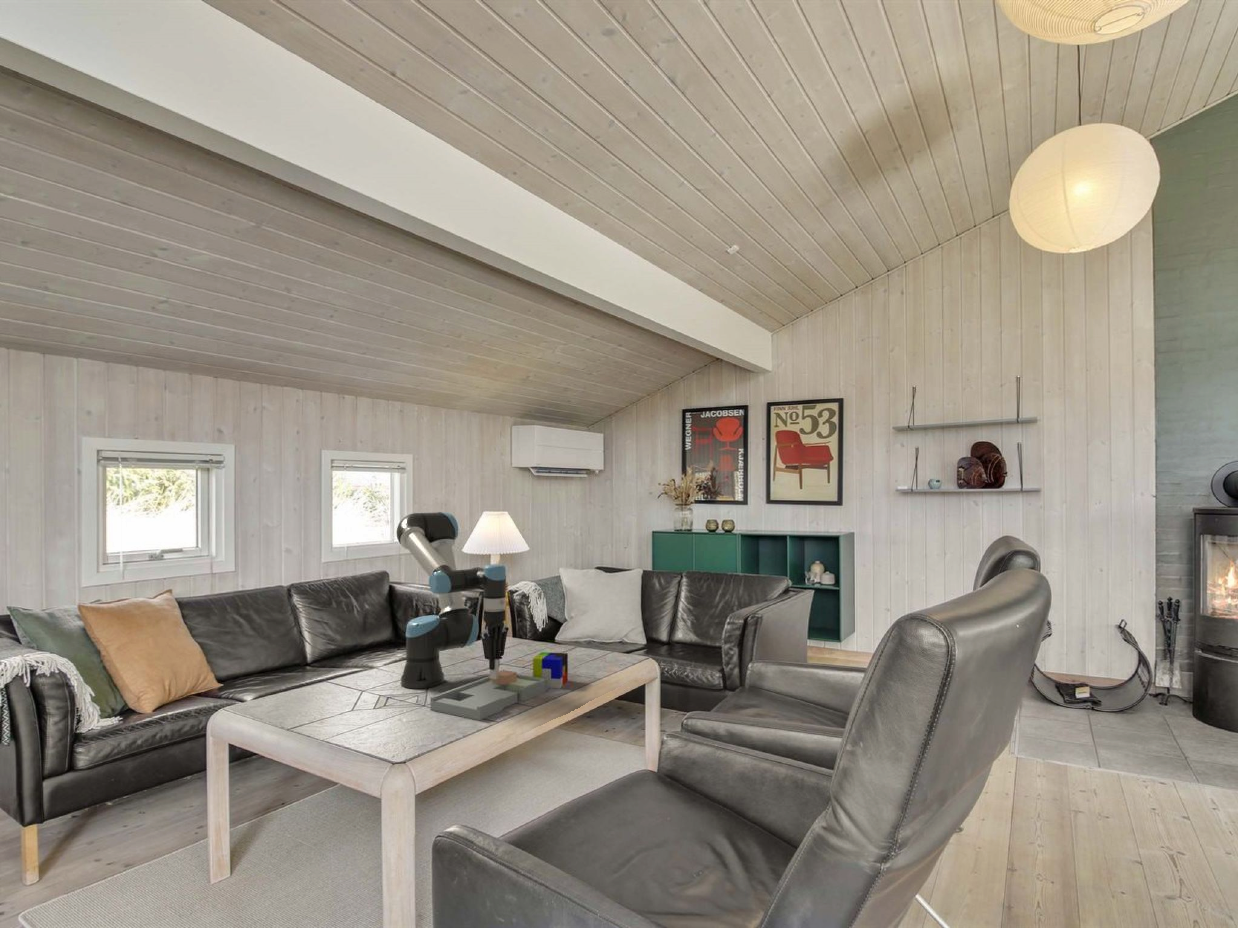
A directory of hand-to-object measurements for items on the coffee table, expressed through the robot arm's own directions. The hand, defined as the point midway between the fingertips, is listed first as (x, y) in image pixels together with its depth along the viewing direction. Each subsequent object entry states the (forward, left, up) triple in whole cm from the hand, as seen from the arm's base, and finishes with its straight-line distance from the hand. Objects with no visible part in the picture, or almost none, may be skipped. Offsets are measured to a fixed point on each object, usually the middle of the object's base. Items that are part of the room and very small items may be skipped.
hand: (494, 678), depth 240 cm
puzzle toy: (+11, +19, -5) cm, 22 cm away
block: (+1, +4, -2) cm, 4 cm away
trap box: (+5, -7, -5) cm, 10 cm away
